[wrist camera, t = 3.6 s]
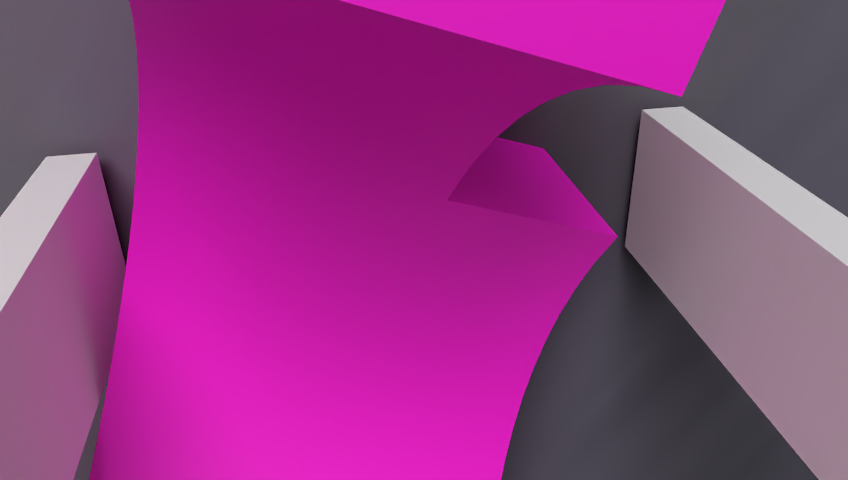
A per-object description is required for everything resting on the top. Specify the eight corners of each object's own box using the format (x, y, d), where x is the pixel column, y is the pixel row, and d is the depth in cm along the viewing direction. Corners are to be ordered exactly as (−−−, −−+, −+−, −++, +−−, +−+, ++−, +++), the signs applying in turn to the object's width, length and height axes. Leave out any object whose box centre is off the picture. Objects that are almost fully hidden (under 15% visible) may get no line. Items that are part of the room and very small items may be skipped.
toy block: (386, 545, 17) (444, 966, 11) (106, 524, 16) (-26, 1009, 9) (648, -136, 11) (1153, -110, 5) (233, -293, 9) (107, -602, 3)
